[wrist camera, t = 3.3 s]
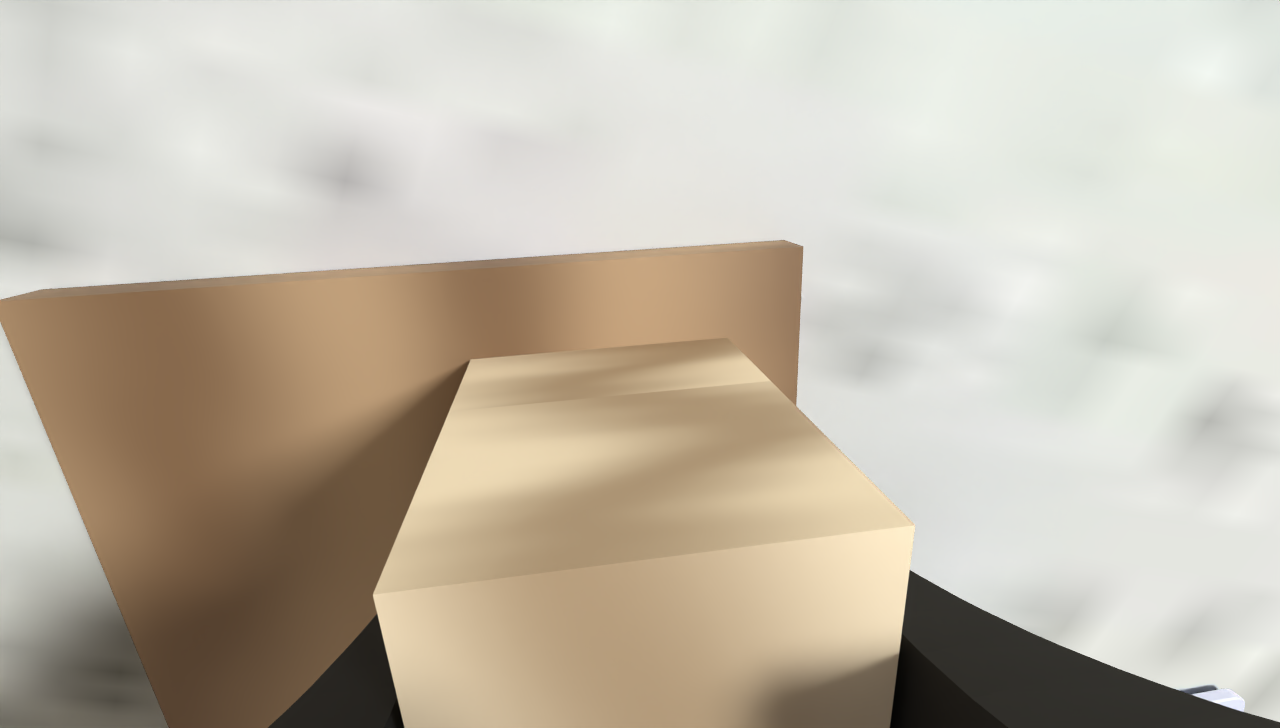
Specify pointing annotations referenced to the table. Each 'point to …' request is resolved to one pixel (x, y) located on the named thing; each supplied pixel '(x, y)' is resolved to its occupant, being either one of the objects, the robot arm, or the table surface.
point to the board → (320, 429)
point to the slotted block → (642, 554)
